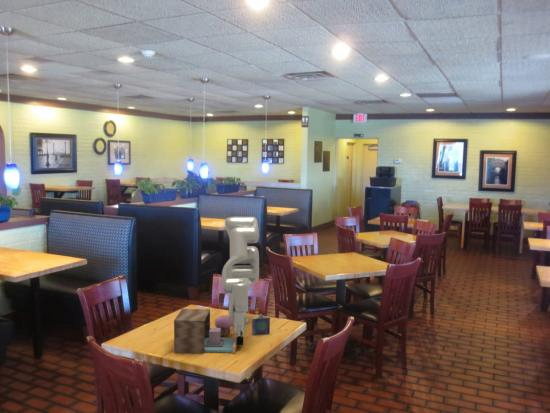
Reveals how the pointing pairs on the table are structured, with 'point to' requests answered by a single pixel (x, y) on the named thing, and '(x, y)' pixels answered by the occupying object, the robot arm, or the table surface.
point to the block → (215, 336)
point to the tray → (222, 345)
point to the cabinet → (191, 330)
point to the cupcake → (224, 324)
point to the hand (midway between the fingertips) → (240, 344)
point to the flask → (261, 325)
